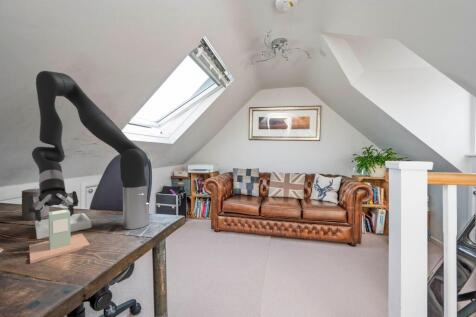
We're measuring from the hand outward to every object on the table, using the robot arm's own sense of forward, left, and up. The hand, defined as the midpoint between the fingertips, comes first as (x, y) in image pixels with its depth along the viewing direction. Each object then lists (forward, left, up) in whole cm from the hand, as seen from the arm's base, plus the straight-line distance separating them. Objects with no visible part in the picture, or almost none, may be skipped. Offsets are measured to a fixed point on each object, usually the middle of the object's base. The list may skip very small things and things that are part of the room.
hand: (55, 217), depth 75 cm
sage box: (0, +11, -7) cm, 13 cm away
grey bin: (-3, -9, -8) cm, 12 cm away
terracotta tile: (0, +11, -8) cm, 13 cm away
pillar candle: (+4, -39, -8) cm, 40 cm away
